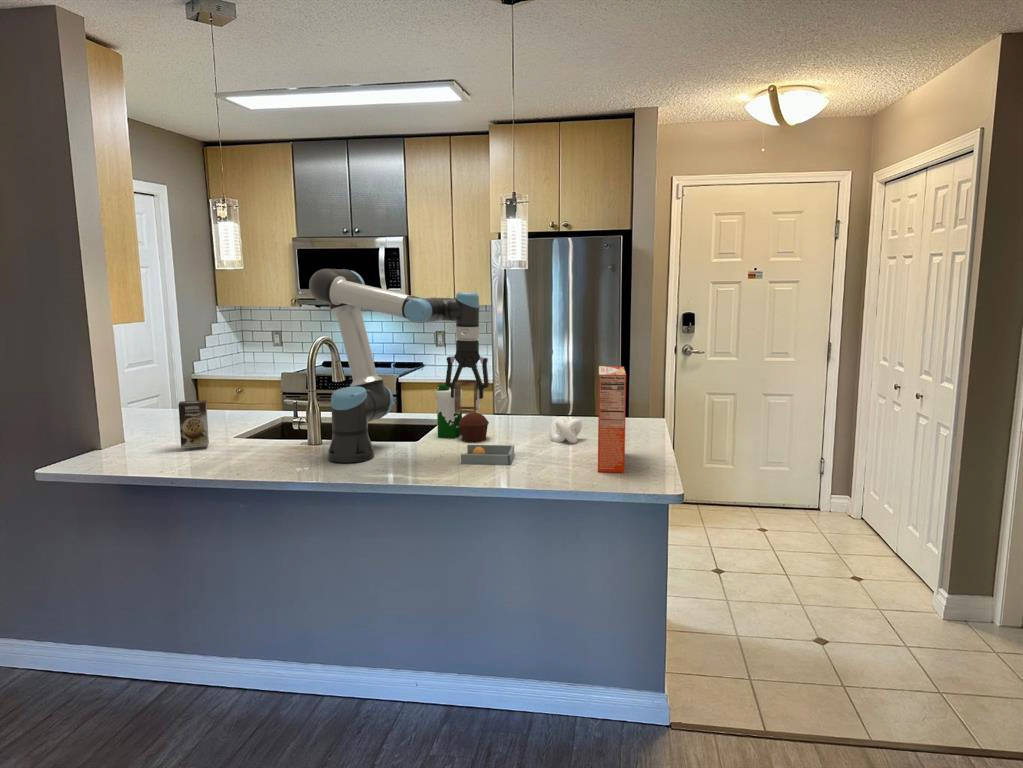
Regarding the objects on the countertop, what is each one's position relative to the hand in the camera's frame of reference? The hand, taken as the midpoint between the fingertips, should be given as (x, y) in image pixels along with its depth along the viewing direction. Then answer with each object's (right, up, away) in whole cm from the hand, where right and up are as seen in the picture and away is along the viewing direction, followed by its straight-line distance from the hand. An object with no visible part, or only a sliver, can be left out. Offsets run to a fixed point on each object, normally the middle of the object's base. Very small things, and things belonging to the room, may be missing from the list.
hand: (466, 407), depth 226 cm
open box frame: (0, -1, 0) cm, 1 cm away
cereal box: (+47, -18, -8) cm, 51 cm away
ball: (+4, -15, -3) cm, 16 cm away
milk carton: (-9, -12, +32) cm, 35 cm away
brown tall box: (-100, -15, +19) cm, 103 cm away
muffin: (+1, -13, +26) cm, 29 cm away
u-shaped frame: (+7, -17, -3) cm, 18 cm away
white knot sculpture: (+36, -14, +21) cm, 44 cm away
